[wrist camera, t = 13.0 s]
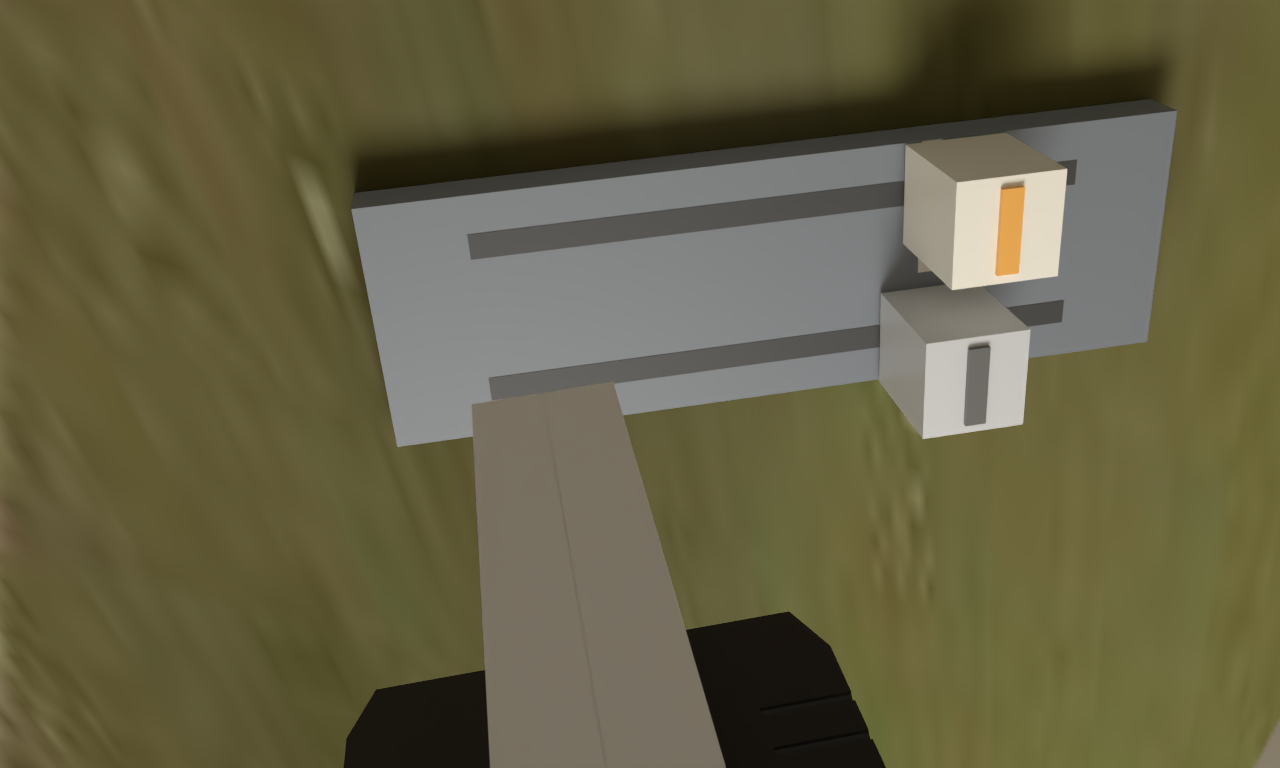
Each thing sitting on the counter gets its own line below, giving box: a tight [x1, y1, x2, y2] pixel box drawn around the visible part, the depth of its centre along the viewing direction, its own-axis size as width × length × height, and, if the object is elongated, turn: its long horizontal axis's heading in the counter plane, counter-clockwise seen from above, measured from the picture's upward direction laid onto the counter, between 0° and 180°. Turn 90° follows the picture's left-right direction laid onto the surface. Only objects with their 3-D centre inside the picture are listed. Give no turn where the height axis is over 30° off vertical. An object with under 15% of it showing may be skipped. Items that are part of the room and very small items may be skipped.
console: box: [351, 99, 1177, 447], centre depth 48 cm, size 10×32×2 cm, turn 94°
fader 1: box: [903, 133, 1067, 290], centre depth 44 cm, size 4×4×5 cm
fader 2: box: [879, 285, 1030, 439], centre depth 47 cm, size 4×4×5 cm
